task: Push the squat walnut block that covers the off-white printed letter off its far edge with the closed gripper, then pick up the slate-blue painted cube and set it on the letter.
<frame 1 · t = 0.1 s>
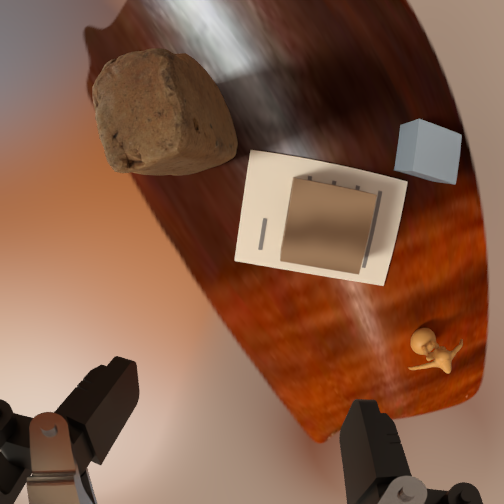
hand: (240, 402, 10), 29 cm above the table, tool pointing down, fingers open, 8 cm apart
slate cube: (417, 153, 33), on the table
walnut block: (323, 220, 36), resting on letter
letter: (322, 219, 37), on the table
figurine: (416, 328, 39), on the table
block: (205, 128, 35), on the table
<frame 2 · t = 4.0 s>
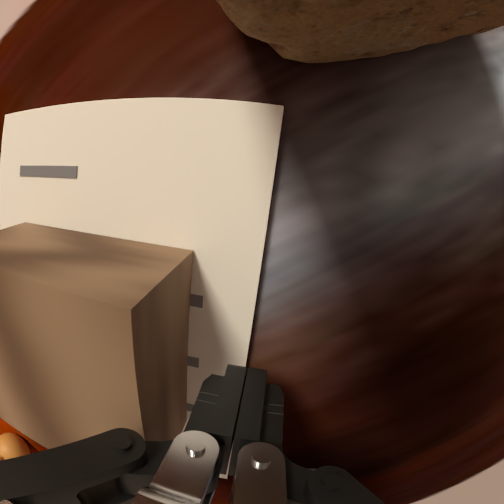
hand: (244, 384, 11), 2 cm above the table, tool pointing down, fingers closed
walnut block: (98, 328, 13), resting on letter, touching gripper
letter: (101, 324, 13), on the table
figurine: (27, 438, 19), on the table
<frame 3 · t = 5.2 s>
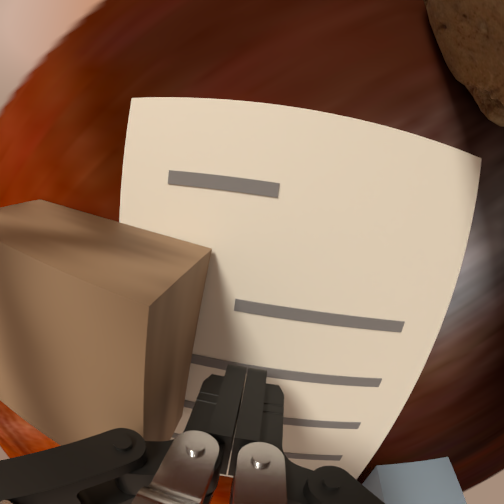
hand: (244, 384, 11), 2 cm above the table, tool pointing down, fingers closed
slate cube: (395, 483, 15), on the table
walnut block: (103, 314, 13), on the table, touching gripper, letter
letter: (275, 359, 12), on the table
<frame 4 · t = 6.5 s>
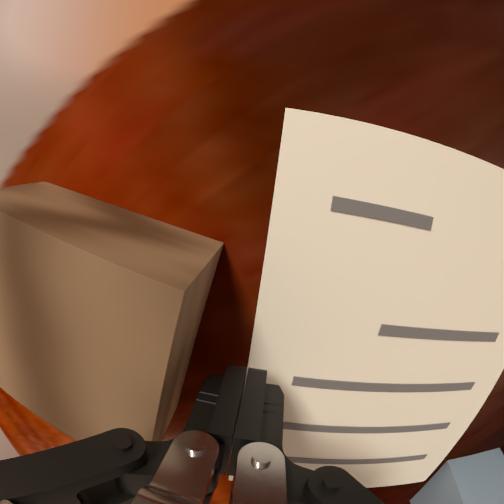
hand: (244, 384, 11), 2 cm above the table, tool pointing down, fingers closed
slate cube: (455, 475, 14), on the table
walnut block: (108, 300, 13), on the table
letter: (398, 375, 12), on the table
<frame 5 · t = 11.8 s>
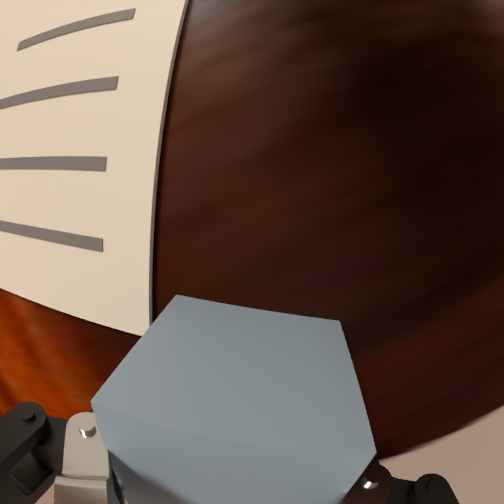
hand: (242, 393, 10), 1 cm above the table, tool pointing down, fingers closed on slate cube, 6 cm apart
slate cube: (247, 374, 12), on the table, touching gripper
letter: (35, 87, 9), on the table
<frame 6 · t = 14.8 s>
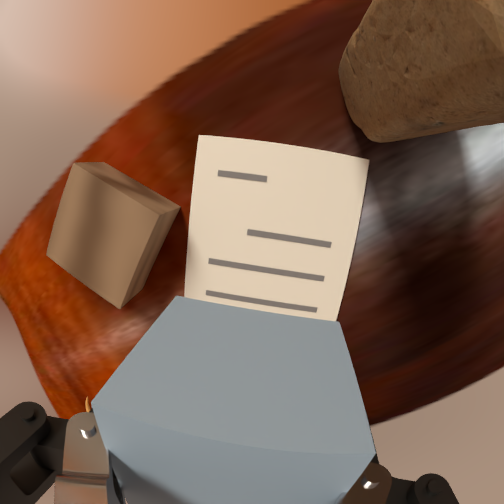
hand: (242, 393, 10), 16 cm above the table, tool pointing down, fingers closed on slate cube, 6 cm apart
slate cube: (246, 374, 12), point 15 cm above the table, touching gripper
walnut block: (122, 225, 27), on the table
letter: (267, 263, 26), on the table
block: (396, 99, 21), on the table
when the fingers open (3 cm above the table, at t = 17.7 s): slate cube stays where it is, resting on letter.
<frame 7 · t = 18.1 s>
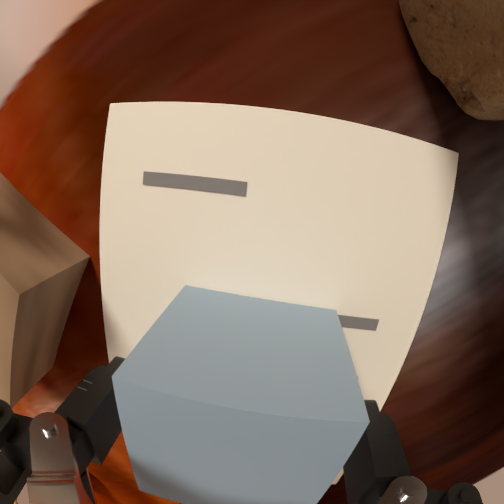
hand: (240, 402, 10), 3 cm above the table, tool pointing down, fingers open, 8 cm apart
slate cube: (250, 360, 12), resting on letter
walnut block: (18, 270, 14), on the table
letter: (249, 355, 13), on the table
block: (486, 49, 8), on the table
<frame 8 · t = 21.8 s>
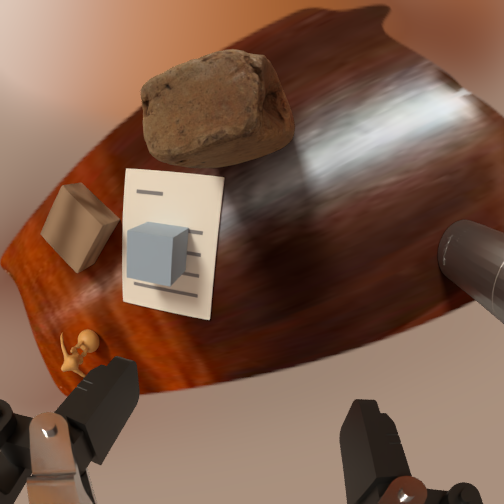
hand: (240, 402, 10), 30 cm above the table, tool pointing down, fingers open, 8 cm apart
slate cube: (166, 246, 40), resting on letter
walnut block: (87, 223, 41), on the table
letter: (166, 245, 41), on the table
figurine: (98, 333, 47), on the table
block: (246, 132, 36), on the table
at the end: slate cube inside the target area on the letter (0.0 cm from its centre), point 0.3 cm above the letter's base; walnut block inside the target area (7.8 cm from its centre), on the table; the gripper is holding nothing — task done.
